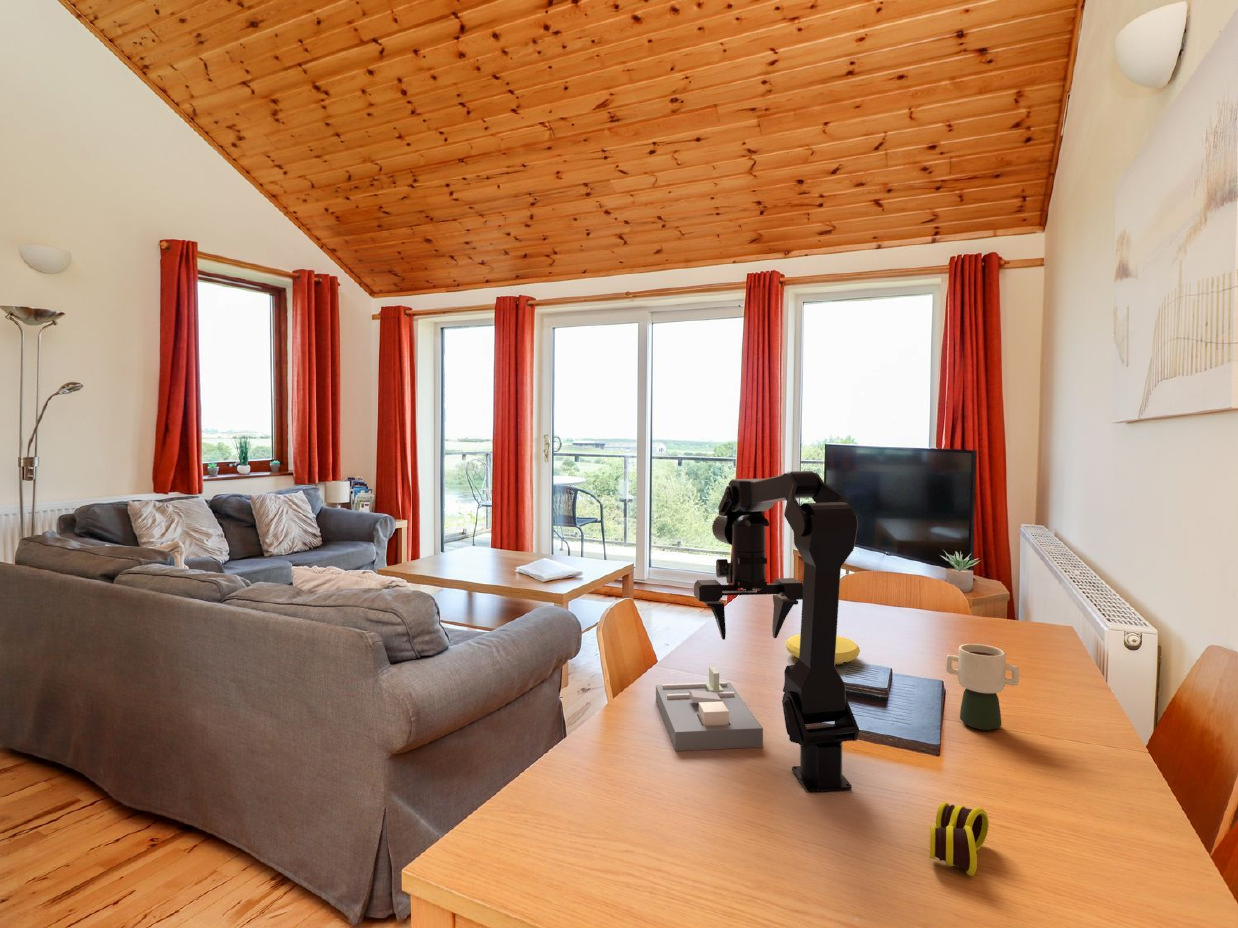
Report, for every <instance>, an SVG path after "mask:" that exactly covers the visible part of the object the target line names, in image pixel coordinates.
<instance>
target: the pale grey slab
mask: <svg viewBox="0 0 1238 928" xmlns="http://www.w3.org/2000/svg"><path fill="white" fill-rule="evenodd" d="M689 697H690V699H691V700H692V702H693V703H699V702H721V699H720V697H719V696H718V694H717V693H716V692H706V691H696V690H690V691H689Z"/></svg>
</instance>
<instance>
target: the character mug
mask: <svg viewBox="0 0 1238 928" xmlns="http://www.w3.org/2000/svg"><path fill="white" fill-rule="evenodd" d="M1006 655H1007V654H1006V652H1005V650H1003V649H1001V648H998V647H996V646H992V645H988V644H981V643H965V644H961V645H959V646H958V655H955V654H954V655H953V654H947V655H946V659H945V670H946V673H948V674H949V675H950V674H951V675H956V676H957V680H958V684H959V686H961V687H962V688H965V690H964V691H963V693H962V699H961V705H960V710H959V711H960V712H959V719H960V720H961V721H962V723H964V724H965V725H967V726H969V727H971V728H975V729H979V730H995V729H998V728H1000V727H1002V725H1003V724H1002V715H1001V714H1002V713H1001V708H1000V700H999V696H998V693H1001V692H1002V691H1004V689H1005V687H1006V685H1008V686H1018V685H1019V682H1020V680H1019V679H1020V670H1019V666H1017V665H1014V664H1007V656H1006ZM953 662H957V668H953ZM1006 671H1008V672H1009V671H1010V672H1011V678H1007V677H1006V674H1007V673H1006Z"/></svg>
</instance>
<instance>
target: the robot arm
mask: <svg viewBox="0 0 1238 928" xmlns="http://www.w3.org/2000/svg"><path fill="white" fill-rule="evenodd" d="M809 498H810V499H812V501H813V502H803V503H801V504H800V503H799V502H798V501H797V499H809ZM784 501H786V504H785V509H784V513H783V514H784V517H785V519H786V521H787V523H788V524H789V526H790V528H791V530H792V531H793V545H794V546H795V548H796V549H797V551H798V553H799V555H800V557H801V558H802V560H803V563H804V564H803V569H804V570H803V582H801V581H800V580H798V579H796V578H794V577H785V578H783V577H782V578H781V577H780V578H778V577H776V578H775V579H774V581H773V583H768V581H766V565H767V564H768V558H767V557H766V527H770V521H769V520H768V518H767V517H765V516H764V513H765V512H766V511H768V510H770V509H772V508H773V507H774V506H775V503H779V502H784ZM717 507H718V516H716V518H715V519H714V520H713V523H712V526H711V531H712V534H713V536H714V538H716V540H718V542H721V543H725V544H727V545H730V546H732V551H731V552H732V553H731V557H730V562H729V560H728V559H727V558H722V559H721V558H720V559H719V558H718V559H716V560H715V562H716V563H715V574H716V578H720V579H721V578H722V579H723V578H726V580H725V581H726V583H727V584H721V582H719V581H718V580H717V579H697V580H696V581H695V583H694V585H693V596H694V597H695V599H697V601H699V602H700V603H701V602H702V603H704V605H705V606H707V607H710V609H711V612H712V613H713V616H714V619H715V622H716V624H717V628H718V631H719V634H720V637H721V639H722V640H724V641H725V640H726V634H727V633H726V632H727V629H726V616H725V613H726V612H725V603H724V602H723V601H722V600H721V599H722V598H723V597H724V596H753V595H754V596H757V595H763V596H764V595H765V596H766V595H772V601H773V615H772V626H771V627H772V638H773V639H777V638H778V636H779V634H780V631H781V629H782V627H783V624H784V623H785V620H786V618H787V616H788V615H789V613H790V611H791V610H792V608H793V606H794V605H795V606H796V605H799V600H800V601H802V602H801V620H800V621H801V622H800V634H801V635H800V653H799V658H798V660H797V661H796V662H795V664H791V665H790V664H789V665H786V666H785V669H784V682H783V689H782V692H783V695H782V701H781V703H782V708H783V709H782V711H783V715H784V716H783V718H784V723H785V730H786V734H787V735H788V737H789V742H791V743H794V744H797V745H799V746H800V748H799V749H800V750H799V751H800V754H799V755H800V756H799V759H800V760H799V761H800V762H799V764H800V765H793V766H791V771H792V773H793V774H794V775H795V777H796V778H797V780H798V781H799V783H800V784H801V785H802V787H803V788H804V790H805V791H806V792H809V793H811V792H813V793H814V792H832V791H833V792H834V791H848V790H849V791H850V790H852V784H851V783H850V782H849V780H848V779H847V778H846V777H845V776H844V775H843V742H857V741H858V737H859V735H860V734H859V733H860V728H859V726H858V723H857V720H856V718H855V716H854V714H853V710H852V708H851V705H850V703H849V701H848V699H847V696H846V684H845V682H844V680H843V678H842V676H841V674H840V673H839V671H838V670H837V668H836V665H835V652H836V636H838V634H837V633H838V618H839V603H840V601H839V600H840V587H841V586H840V585H841V572H842V571H841V569H842V566H843V565H844V564H845V562H846V561H847V559H848V558H849V557H850V555H851V554H852V552H853V551H854V550H855V545H856V539H857V533H858V532H857V531H858V529H859V518H858V515H857V513H856V511H855V510H854V509H853V507H852V506H851V504H850V503H849V501H848V500H847V498H846V497H845V495H843V494H842V493H840V492H839V491H838V490H836V489H835V488H833V487H831V486H830V485H829V484H828V483H825V481H824V480H823V479H822V477H821V476H820V475H819V474H818V473H817V472H814V471H811V470H804V471H803V470H799V471H798V470H796V471H794V470H792V471H790V470H789V471H787V472H785V473H783V474H780V475H777V476H772V477H768V478H737V479H736V478H732V479H730V481H729V482H728V485H727V486H726V488H725V490H724V493H723V496H722V497H721V500H720V503H719V504H718V506H717ZM831 722H834V723H832V724H830V723H831ZM821 723H829V724H822V725H815V726H814V725H813V724H821ZM806 725H813V726H806Z"/></svg>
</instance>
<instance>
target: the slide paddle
mask: <svg viewBox="0 0 1238 928" xmlns="http://www.w3.org/2000/svg"><path fill="white" fill-rule="evenodd" d="M719 682H720V672H719V671H718V669H717V668H716V667H715V665H714V666H709V667H708V682H704V683H705V687H706V688H707V690H708V691H709V692H723V689H722V687H721V686H720V684H719Z"/></svg>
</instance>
